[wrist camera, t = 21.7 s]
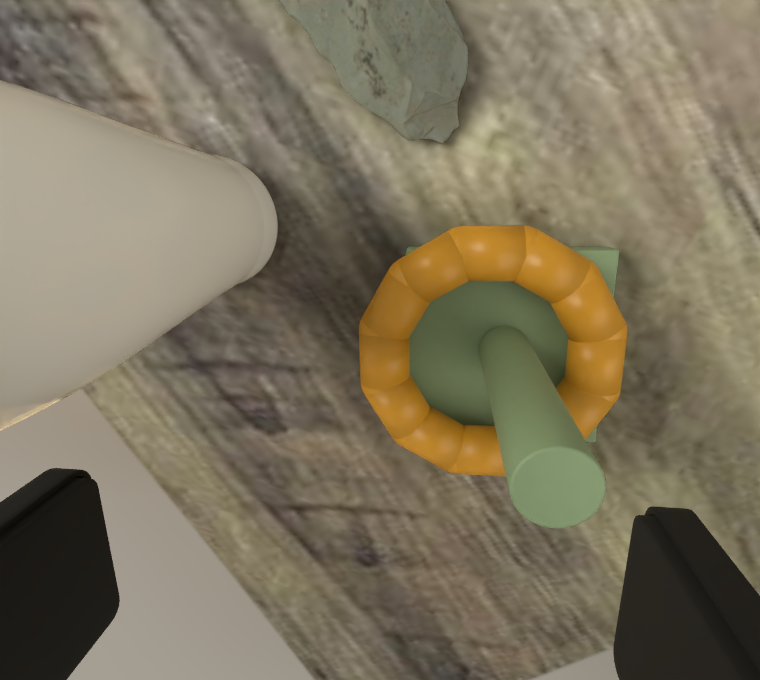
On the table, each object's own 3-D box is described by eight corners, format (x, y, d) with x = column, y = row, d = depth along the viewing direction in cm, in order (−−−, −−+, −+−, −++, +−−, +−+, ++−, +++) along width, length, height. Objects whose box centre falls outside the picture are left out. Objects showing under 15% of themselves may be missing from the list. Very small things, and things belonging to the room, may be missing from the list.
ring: (359, 226, 19) (350, 229, 17) (629, 222, 18) (651, 225, 16) (367, 454, 22) (360, 478, 20) (600, 464, 21) (616, 491, 19)
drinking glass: (294, 309, 22) (12, 524, 8) (149, 288, 22) (-363, 453, 8) (304, 146, 20) (-51, 27, 6) (145, 128, 20) (-542, -23, 6)
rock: (416, 171, 20) (516, 71, 18) (413, 165, 18) (523, 53, 16) (255, -8, 19) (346, -125, 18) (232, -34, 17) (333, -168, 16)
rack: (408, 246, 20) (368, 301, 10) (610, 246, 20) (809, 309, 9) (406, 421, 23) (373, 621, 12) (587, 430, 22) (724, 656, 11)
